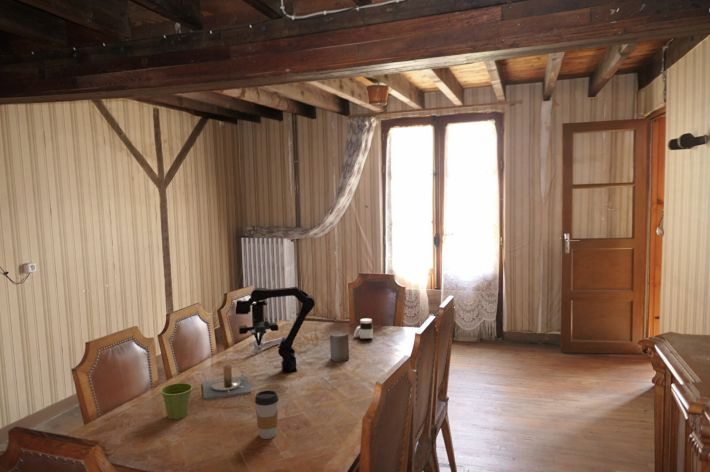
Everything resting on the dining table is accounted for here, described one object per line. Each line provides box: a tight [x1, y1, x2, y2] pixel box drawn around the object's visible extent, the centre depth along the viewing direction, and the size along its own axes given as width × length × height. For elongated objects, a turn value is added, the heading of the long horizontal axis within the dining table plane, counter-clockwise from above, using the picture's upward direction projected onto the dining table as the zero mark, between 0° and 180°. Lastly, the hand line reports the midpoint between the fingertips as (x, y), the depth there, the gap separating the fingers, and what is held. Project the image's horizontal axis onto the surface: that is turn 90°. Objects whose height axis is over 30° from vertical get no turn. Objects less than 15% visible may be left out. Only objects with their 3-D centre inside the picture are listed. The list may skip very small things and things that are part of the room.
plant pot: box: [160, 382, 194, 420], centre depth 191 cm, size 12×12×11 cm
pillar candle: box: [329, 330, 350, 363], centre depth 255 cm, size 10×10×15 cm
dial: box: [211, 364, 241, 391], centre depth 218 cm, size 13×13×10 cm
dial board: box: [202, 375, 253, 401], centre depth 219 cm, size 20×20×2 cm
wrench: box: [248, 337, 283, 355], centre depth 274 cm, size 8×2×30 cm
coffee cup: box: [254, 390, 279, 440], centre depth 174 cm, size 8×8×15 cm
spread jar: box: [353, 317, 374, 342], centre depth 291 cm, size 12×11×12 cm
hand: (258, 345), depth 238 cm, fingers closed
